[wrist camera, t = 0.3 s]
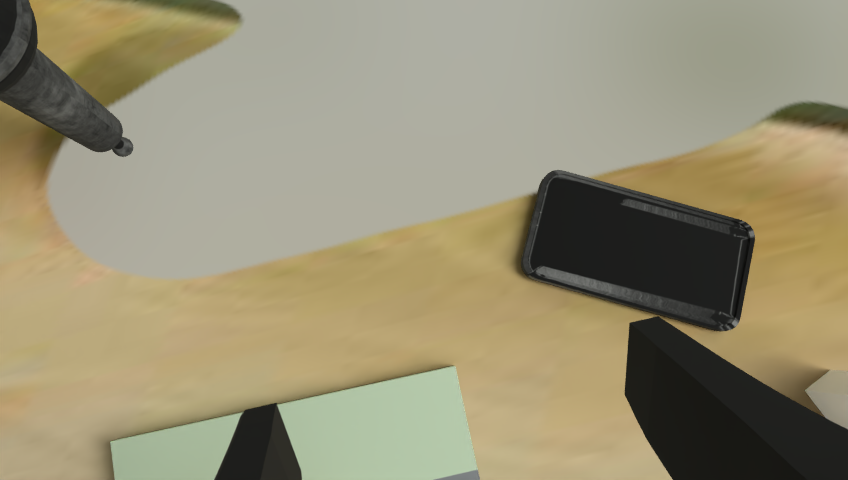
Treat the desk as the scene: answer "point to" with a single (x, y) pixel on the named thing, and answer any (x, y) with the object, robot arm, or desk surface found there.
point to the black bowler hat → (50, 86)
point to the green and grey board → (330, 436)
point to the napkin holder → (831, 396)
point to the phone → (639, 250)
